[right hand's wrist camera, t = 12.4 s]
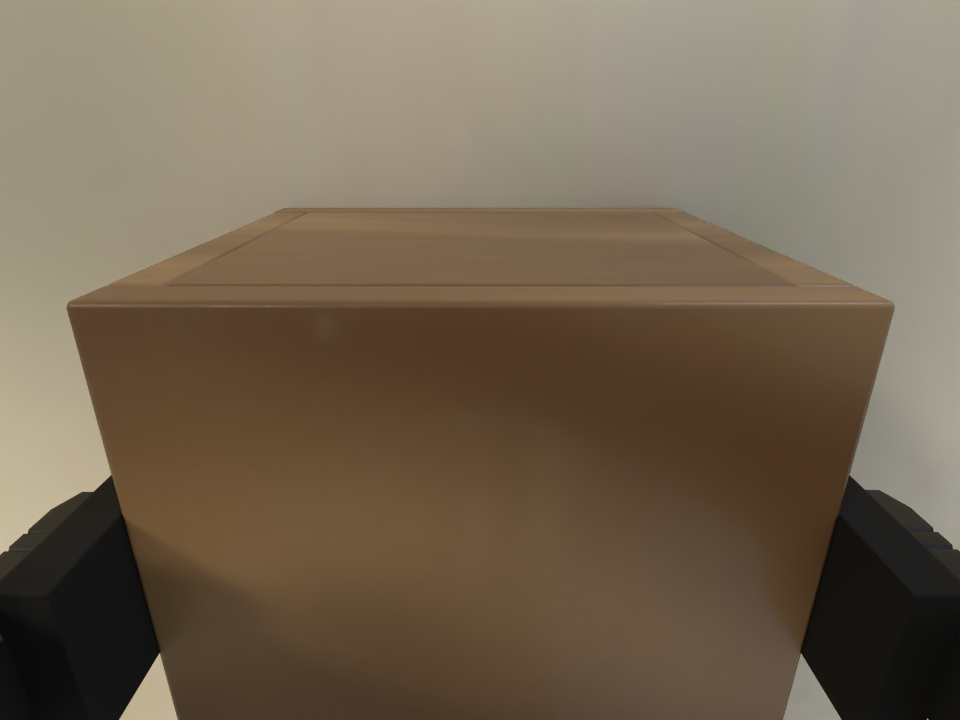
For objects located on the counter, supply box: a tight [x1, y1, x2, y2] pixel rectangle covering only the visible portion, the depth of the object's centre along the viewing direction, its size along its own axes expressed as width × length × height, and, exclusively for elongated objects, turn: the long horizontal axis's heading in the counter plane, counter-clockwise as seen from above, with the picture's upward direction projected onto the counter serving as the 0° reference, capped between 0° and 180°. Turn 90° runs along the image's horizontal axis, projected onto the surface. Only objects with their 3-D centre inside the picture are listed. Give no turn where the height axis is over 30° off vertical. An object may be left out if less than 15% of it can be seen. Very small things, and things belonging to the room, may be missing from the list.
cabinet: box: [67, 208, 894, 720], centre depth 15 cm, size 17×10×9 cm, turn 0°
